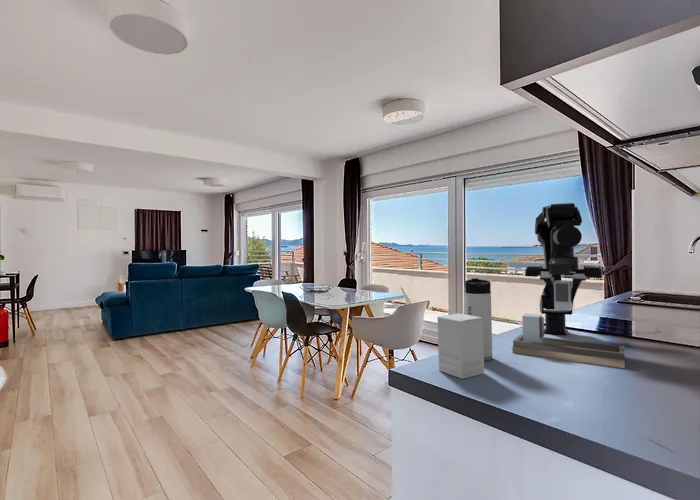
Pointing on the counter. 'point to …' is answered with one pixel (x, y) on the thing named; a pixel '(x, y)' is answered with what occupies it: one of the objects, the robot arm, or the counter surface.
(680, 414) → the counter surface
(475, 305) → the travel mug
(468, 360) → the supplement box
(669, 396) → the counter surface
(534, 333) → the block
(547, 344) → the rail
